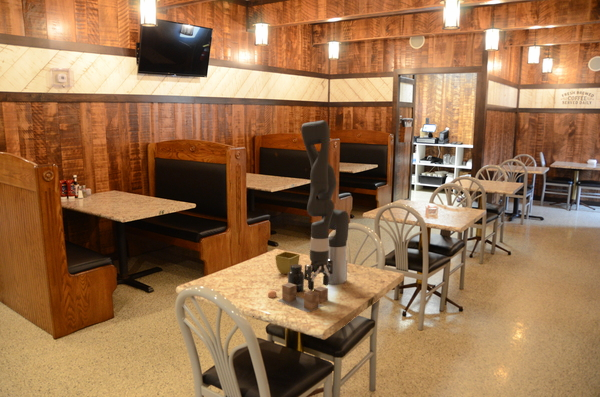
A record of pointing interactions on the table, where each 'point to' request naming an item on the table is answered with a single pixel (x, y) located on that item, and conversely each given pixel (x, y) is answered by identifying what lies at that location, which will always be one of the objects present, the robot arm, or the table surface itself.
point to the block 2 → (311, 300)
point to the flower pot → (286, 261)
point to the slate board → (298, 304)
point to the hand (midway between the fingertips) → (318, 287)
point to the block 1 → (289, 292)
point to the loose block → (322, 293)
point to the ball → (272, 294)
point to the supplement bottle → (296, 277)
